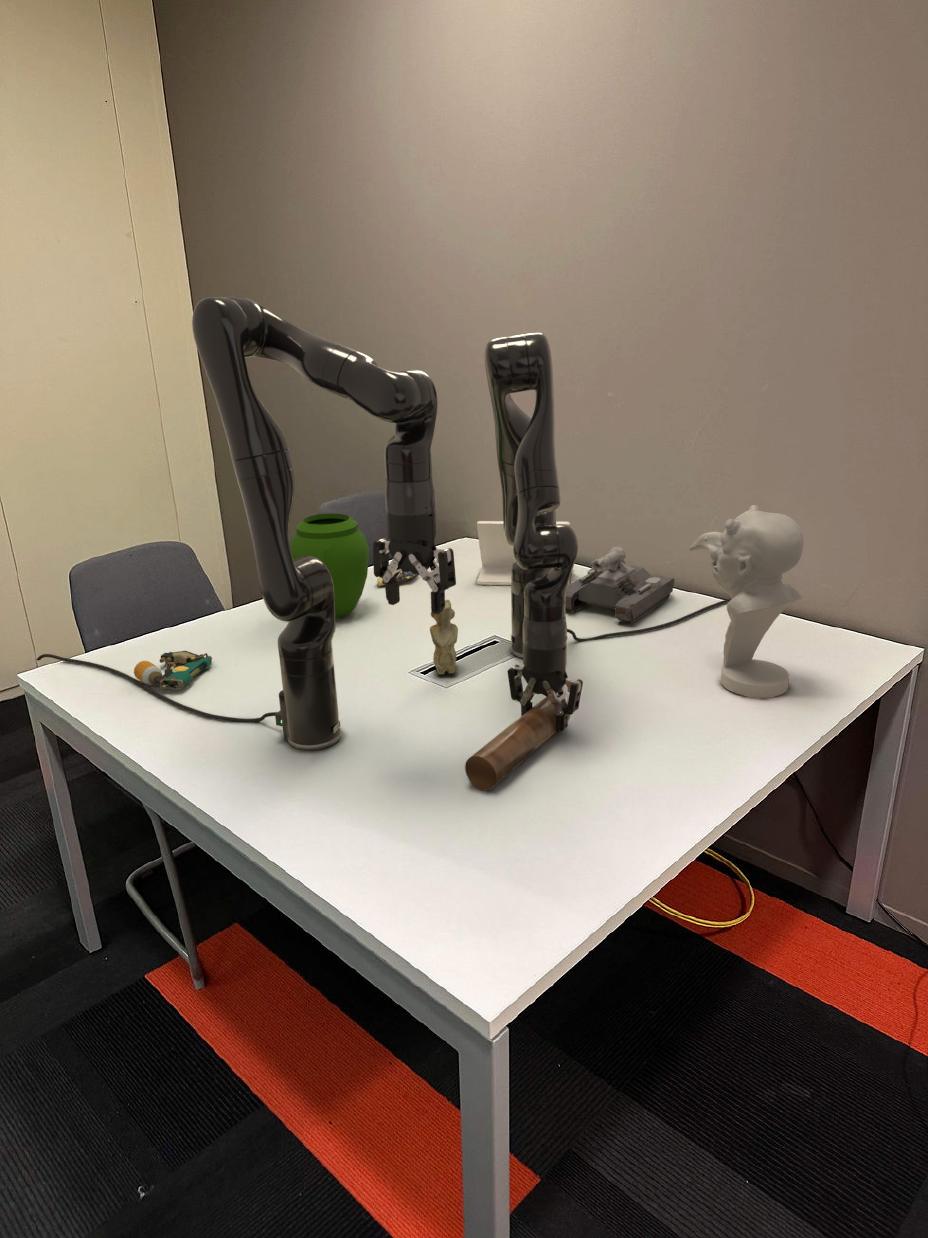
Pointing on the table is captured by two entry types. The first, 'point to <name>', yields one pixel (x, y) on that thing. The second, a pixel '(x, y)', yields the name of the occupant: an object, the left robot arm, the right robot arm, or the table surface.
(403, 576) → the toy gun
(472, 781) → the rod
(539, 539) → the right robot arm
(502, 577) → the tablet stand
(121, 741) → the table surface
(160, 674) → the spray gun
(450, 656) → the sculpture
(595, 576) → the toy
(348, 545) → the vase
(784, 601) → the bust sculpture
